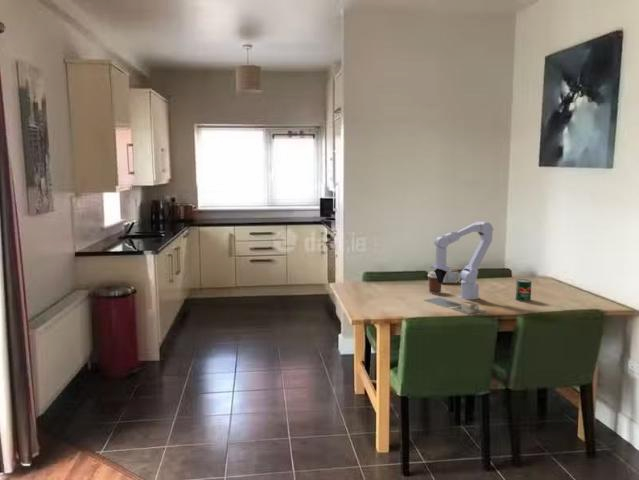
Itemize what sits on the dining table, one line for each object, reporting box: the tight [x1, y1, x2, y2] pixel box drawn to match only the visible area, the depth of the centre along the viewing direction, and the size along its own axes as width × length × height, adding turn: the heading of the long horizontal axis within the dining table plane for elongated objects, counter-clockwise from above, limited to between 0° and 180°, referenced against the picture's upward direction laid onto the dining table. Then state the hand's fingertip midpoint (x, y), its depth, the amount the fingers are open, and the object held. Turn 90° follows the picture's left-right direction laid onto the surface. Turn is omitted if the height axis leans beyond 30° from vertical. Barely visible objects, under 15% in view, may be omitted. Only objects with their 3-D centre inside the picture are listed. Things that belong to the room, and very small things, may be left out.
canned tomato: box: [515, 278, 533, 302], centre depth 297 cm, size 8×8×11 cm
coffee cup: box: [427, 270, 443, 295], centre depth 314 cm, size 9×9×12 cm
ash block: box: [460, 301, 480, 313], centre depth 272 cm, size 6×6×4 cm
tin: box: [442, 269, 462, 284], centre depth 340 cm, size 15×3×8 cm, turn 92°
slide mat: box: [423, 297, 487, 316], centre depth 284 cm, size 12×34×1 cm, turn 30°
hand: (440, 282), depth 297 cm, fingers closed
